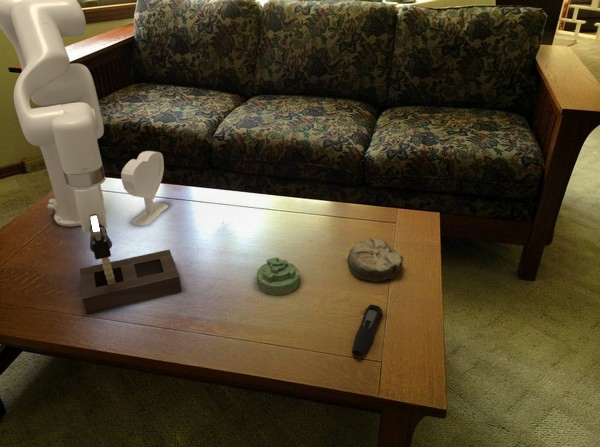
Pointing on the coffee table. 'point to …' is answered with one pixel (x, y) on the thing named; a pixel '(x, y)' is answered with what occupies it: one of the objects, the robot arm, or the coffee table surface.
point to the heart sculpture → (145, 183)
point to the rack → (129, 281)
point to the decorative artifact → (277, 277)
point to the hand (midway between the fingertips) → (101, 245)
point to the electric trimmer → (366, 330)
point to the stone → (374, 260)
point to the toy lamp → (106, 262)
